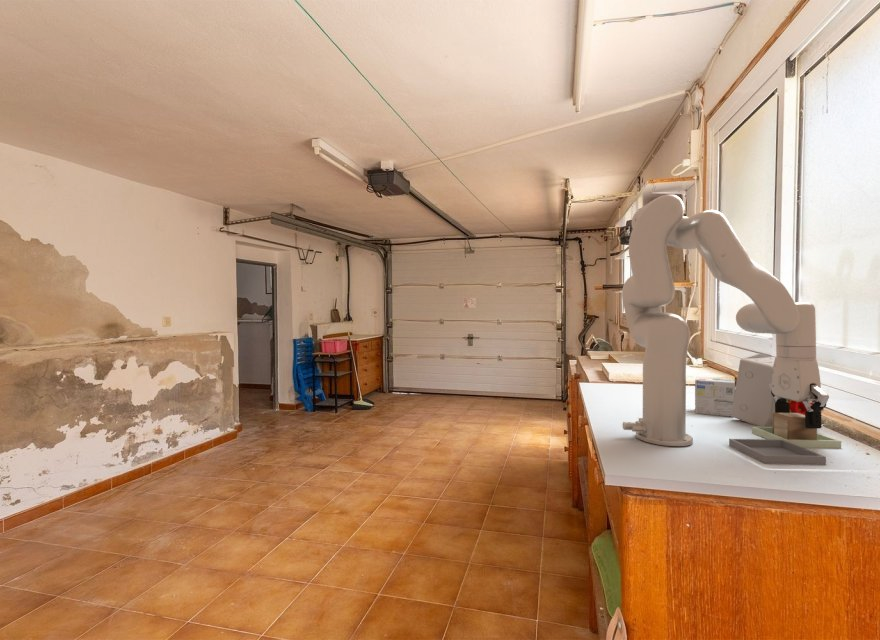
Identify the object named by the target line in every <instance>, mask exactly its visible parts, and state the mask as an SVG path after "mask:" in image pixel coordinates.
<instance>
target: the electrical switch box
mask: <svg viewBox="0 0 880 640" xmlns="http://www.w3.org/2000/svg"><path fill="white" fill-rule="evenodd" d="M774 360H775V356H770V355H766V354H763V353H762V354H761V353H755V354H751V355H748V356H745V357H742V358H740V360H739V366H738V371H737V372H738V373H737V377H736V378H737V379H736V383H735V395H734V401H733V407H732V413H731V416H732V417H731V418H734V419H736V420H739V421H742V422H744V423H748V424H751V425H753V426H756V427H773V413H775V402H774V401H773V398H774V397H773V396H772V394H771V389H770V386H769V383H771V382H772V373H773V365H774ZM787 402H789V403H790V413H800V414H803V415H805V411H808V410H807V408H806V407H805V405H804V403H803V402H802V401H801V402H796V401H792V400H788V401H787ZM810 404H811V405H813V404H814V403H813V402H812V403H810Z"/></svg>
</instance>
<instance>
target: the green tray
mask: <svg viewBox="0 0 880 640" xmlns="http://www.w3.org/2000/svg"><path fill="white" fill-rule="evenodd" d="M772 429H773V426H772V427H761V426H751V434H753V435H756V436H759V437H760V438H762V439H763V438H764V439H775V440H785V441H788V442H790V443H793V444H795V445H798V446H800V447H803V448H805V449H812V448H813V449H842V441H841V440H839V439H837V438H833V437H830V436H827V435H825V434H821V433H818V432H817V440H787V439H785V438H782V437H780V436H777V435H774V434H772Z"/></svg>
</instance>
